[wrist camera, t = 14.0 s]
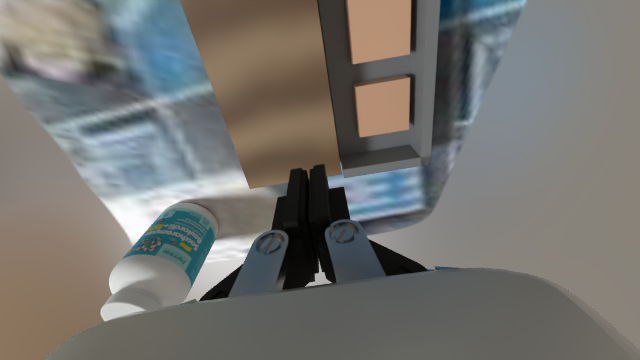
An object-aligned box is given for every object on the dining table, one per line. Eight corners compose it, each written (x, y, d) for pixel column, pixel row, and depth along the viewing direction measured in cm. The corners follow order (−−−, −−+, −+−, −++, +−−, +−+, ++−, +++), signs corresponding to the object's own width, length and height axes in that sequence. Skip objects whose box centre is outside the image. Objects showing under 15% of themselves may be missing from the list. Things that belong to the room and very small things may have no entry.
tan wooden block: (195, -12, 21) (172, -21, 18) (310, -36, 21) (309, -51, 17) (257, 171, 30) (249, 188, 27) (338, 158, 30) (341, 174, 26)
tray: (311, -45, 20) (311, -61, 17) (422, -69, 20) (446, -91, 16) (340, 161, 30) (344, 178, 26) (416, 149, 29) (430, 164, 26)
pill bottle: (222, 206, 33) (173, 301, 21) (217, 246, 36) (172, 345, 25) (162, 193, 32) (74, 286, 20) (163, 236, 35) (89, 335, 24)
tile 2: (411, -17, 19) (403, -13, 21) (347, -5, 20) (344, -2, 21) (409, 54, 22) (402, 52, 24) (353, 64, 22) (350, 62, 24)
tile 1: (410, 77, 23) (403, 74, 25) (355, 87, 23) (352, 83, 25) (408, 129, 25) (402, 123, 27) (359, 137, 26) (357, 131, 27)
